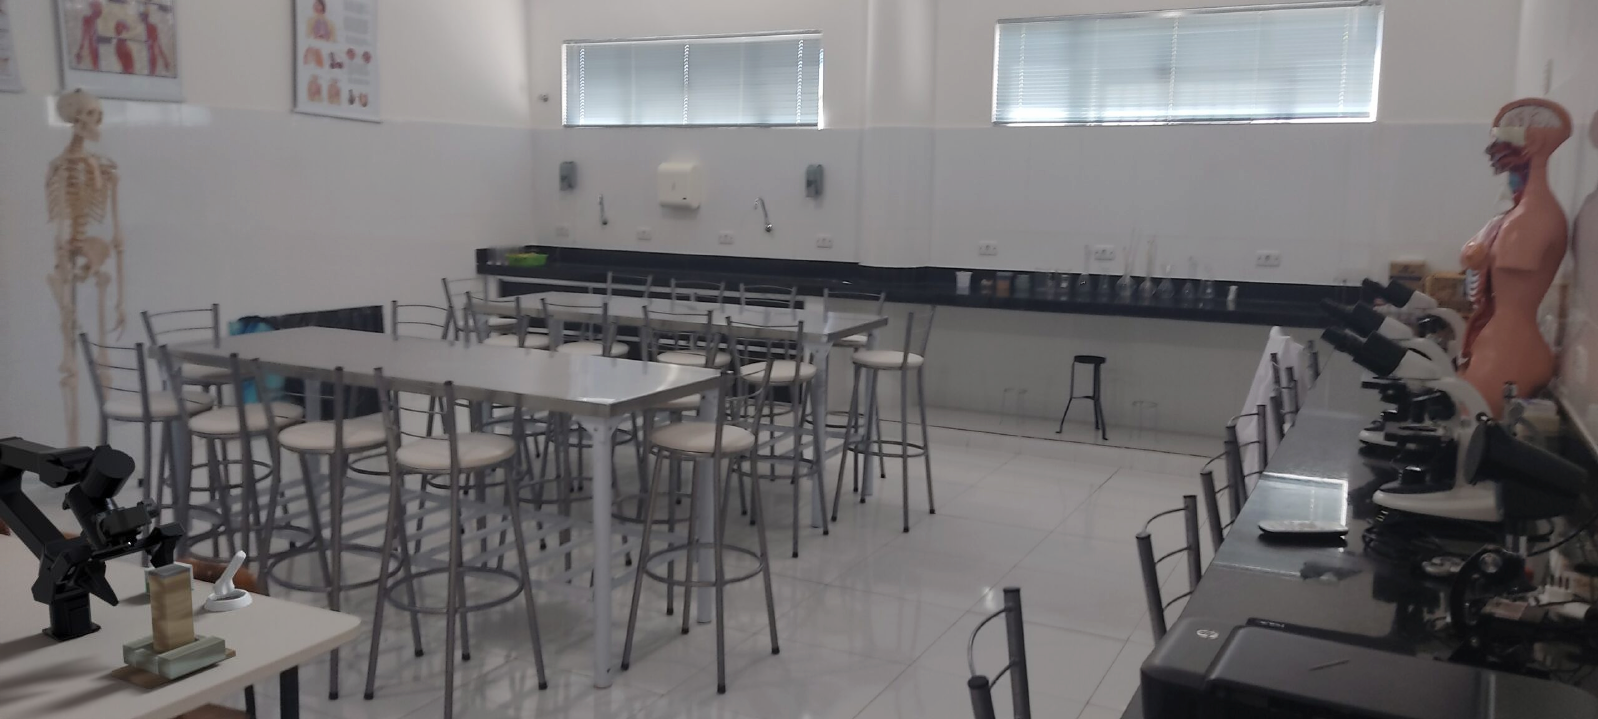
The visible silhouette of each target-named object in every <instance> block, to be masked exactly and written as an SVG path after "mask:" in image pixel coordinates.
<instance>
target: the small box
mask: <svg viewBox="0 0 1598 719" xmlns="http://www.w3.org/2000/svg"><path fill="white" fill-rule="evenodd" d="M174 564H178V565H182V566H185V567H189V568H190V577H191V591H193V590H195V585H194V572H193V571H194V570H193V569H194V568H193V564H190V563H189V564H188V563H186V562H185V563H184V562H180V561H174ZM153 569H155V568H154V566H153V565H152V566H150V567H147V568H146V569H144V583H145V595H149V596H150V587H149V573H148V571H149V570H153Z"/></svg>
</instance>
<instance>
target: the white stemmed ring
mask: <svg viewBox="0 0 1598 719" xmlns="http://www.w3.org/2000/svg"><path fill="white" fill-rule="evenodd" d="M246 557H247V554H246V553H245V552H244V551H243V550H239V551H238V552H237V553H236V554H235V555H234V556H233V558H232V559H231V561H230V562H229V564H228V565H227V567H226V569H225V570H224V572H223V573H222V574H221V576H220V578H219V579H217V580H216V581H215V584H214V585H212V588H211V590H212V592H213V593H211V594H210V595H208V596H207V598H206V600H205V603H204V605H203V608H204V610H206V611H208V610H210V612H216V611H219V612H220V611H222V612H230V610H231V611H235V610H240V609H243V608H245V607H247V605H248V606H250V603H251V604H252V603H253V598H252V596H251V595H250V592H248V591H247V590H245V589H240V588H235V585H234V583H233V578H234V576H235V574H236V573H237V571H238V570H239V569H240V567H241V566H242V564H243V563H244V561H245V558H246ZM225 597H228V598H235V599H228V600H221V598H222V599H226V598H225ZM217 599H218V600H217ZM214 600H215V601H214ZM239 608H240V609H239ZM219 612H218V613H219Z"/></svg>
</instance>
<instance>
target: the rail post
mask: <svg viewBox="0 0 1598 719" xmlns="http://www.w3.org/2000/svg"><path fill="white" fill-rule="evenodd" d="M148 573H149V587H150V595H149V598H150V599H149V600H150V613H151V615H150V616H151V628H152V634H153V644H154V653H157V654H160V655H161V654H163V653H166V652H169V651H172V650H174V649H177V648H180V647H183V646H185V645H188V644H191V643H194V642H195V639H194V633H195V624H194V611H193V596H192V590H191V577H190V568H189V567H185V566H182V565H178V564H174V563H173V564H170V565H166V566H163V567H159V568H156V569H153V570H149V571H148Z"/></svg>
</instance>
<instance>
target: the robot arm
mask: <svg viewBox="0 0 1598 719" xmlns="http://www.w3.org/2000/svg"><path fill="white" fill-rule="evenodd" d="M135 469H136V463H135V460H134V458H133V457H132V455H131V456H130V455H129V454H127V453H126V452H124V451H122V450H119V449H115V448H113V447H112V446H111V444H110V443H106V444H100V445H96V446H95V448H94V449H93V447H90V446H88V445H83V446H82V445H81V446H78V445H77V446H68V447H60V448H59V447H54V446H49V445H45V444H43V443H37V442H33V441H30V440H26V439H24V438H22V437H21V436H17V435H16V436H8V437H2V438H0V519H1V520H2V521H3V522H4V524H5V525H7V527H8V528H9V529H10V530H11V531H12V532H13V533H14V534H15V535H16V537H18V539H19V540H20V541H21V542H22V543H23V544H24V545H25V546H26V548H27V549H28V550H29V551H30V552H31V553H32V554H33V555H34V556H35V557H36V559H38V561H39V564H38V572H37V575H38V576H37V578H36V580H35V581H34V583H33V584H32V585H31V588H30V591H31V594H32V597H33V600H34V602H38V603H39V604H45V605H47V606H48V611H49V612H48V614H49V625H50V627H46V628H42V629H41V633H42V634H44V635H46V636H49V637H50V638H51V639H55V640H56V641H59V642H60V641H64V640H68V639H72V638H74V637H78V636H82V635H85V634H88V633H92V632H96V631H99V630H101V629H102V626H101V624H98V623H95V622H94V621H92V609H91V596H90V594H91V595H93V596H94V597H97V598H98V599H100V600H102V601H104V602H105V603H107V604H108V605H110V606H112V607H116V606H118V605H119V603H120V601H119V599H118V597H117V594H116V593H115V591H114V589H113V588H112V586H111V584H110V583H109V581H108V580H107V578H106V571H107V564H106V562H107V561H110V560H114V559H117V558H122V557H125V556H128V555H132V554H135V553H140V552H142V551H144V552H145V553H146V554H147V556H149V557H150V559H149V563H150V564H151V565H152V567H153V566H154V568H155V569H156V568H159V567H163V566H166V565H170V564H173V563H174V562H175V561H174V560H175V558H174V556H175V555H174V554H175V549H176V548H177V547H178V546H179V545H180V542H182V540H183V539H184V537H185V536H186V535H187V531H186V530H185V528H184V527H183V525H182V524H181V523H180V522H177V521H172V522H168V523H165V524H161V525H157V526H154V527H153V528H152V530H151V531H150V533H149V534H148V536H145V537H141V538H137V536H140V535H141V534H142V532H143V531H144V529H143V528H142V527H144V526H146V525H151V524H153V519H155V518H158V517H159V516H160V513H161V512H160V509H159V506H158V504H157V503H156V501H155V500H154V498H153V497H150V498H145V499H142V500H141V501H138V502H137V503H136V506H131V507H127V508H126V507H125V506H120V507H119V506H118V504H117V502H116V501H115V497H116V496H118V495H119V494H120V493H121V491H122V489H123V488H124V487H125V485H126V483H127V482H128V481H129V479H130V478H131V476H132V474H134V471H135ZM25 472H30V473H32V474H37V475H38V477H39V478H38V479H39V482H41V483H43V484H44V485H46V486H48V487H49V488H52V489H59V488H64V487H68V486H72V487H71V488H70V489H69V491H68V492H65V494H64V498H63V501H62V503H61V504H62V505H61V509H62V510H63V511H68V510H71V511H72V513H73V515H74V517H75V519H76V520H77V522H78V523H79V525H80V527H81V532H80V533H79V535H78V536H75V537H70V538H67V537H66V535H64V534H63V533H62V531H61V530H59V529H58V527H57V526H56V525H55V524H54V523H53V522H52V521H51V520H50V519H49V518H48V517H47V515H46V514H44V512H43V511H42V510H41V509H40V508H39V507H38V505H36V503H34V502H33V500H31V498H30V497H29V496H28V495H26V493H25V492H24V491H23V490H22V483H23V482H22V481H23V476H24V474H25Z"/></svg>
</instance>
